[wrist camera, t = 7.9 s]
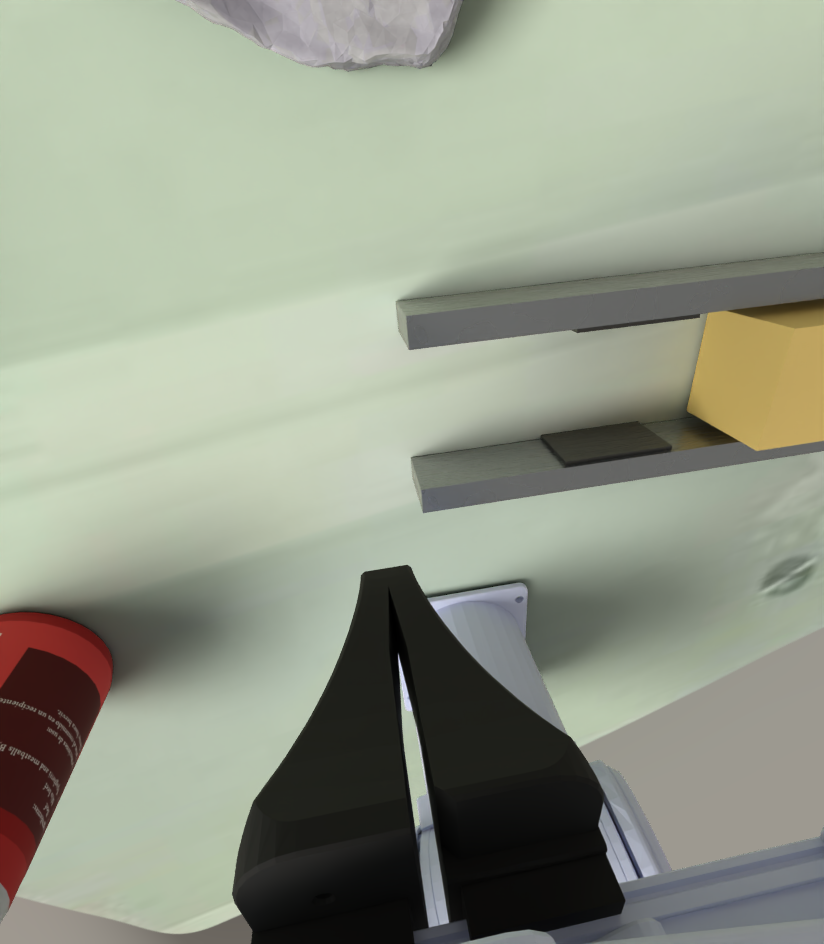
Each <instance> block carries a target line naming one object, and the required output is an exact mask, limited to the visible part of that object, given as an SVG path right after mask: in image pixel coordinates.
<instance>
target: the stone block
mask: <svg viewBox="0 0 824 944" xmlns="http://www.w3.org/2000/svg"><path fill="white" fill-rule="evenodd" d="M176 1H178V2H180V3H182V4H184V5H187V6H189V7H191V8H192V9H193V10H195V11H196V12H197V13H199V14H200V15H201V16H203V17H204V18H206V19H207V20H209V21H211V22H213V23H215V24H220V25H223V26H225V27H228V28H231V29H233V30H235V31H236V32H238V33H240V34H241V35H243V36H244V37H246V38H248V39H250V40H252V41H254V42H255V43H256V44H257V45H259V46H260V47H263V48H266V49H269V50H272V51H274V52H276V53H278V54H281V55H283V56H285V57H287V58H289V59H291V60H293V61H296V62H298V63H300V64H303V65H306V66H310V67H326V66H329V67H331V68H333V69H343V70H346V71H348V72H349V71H353V70H358V69H363V68H370V67H374V66H378V65H383V64H385V65H391V66H411V67H417V68H419V69H421V68H424V67H428V66H432V63H434V62H436V61H437V59H438V58H439V57H440V56H441V54H442V53H443V52H444V51H445V49H446V48H447V47H448V45H449V43H450V40H451V38H452V35H453V33H454V28H455V25H456V22H457V18H458V14H459V11H460V8H461V5H462V2H463V0H176Z"/></svg>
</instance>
